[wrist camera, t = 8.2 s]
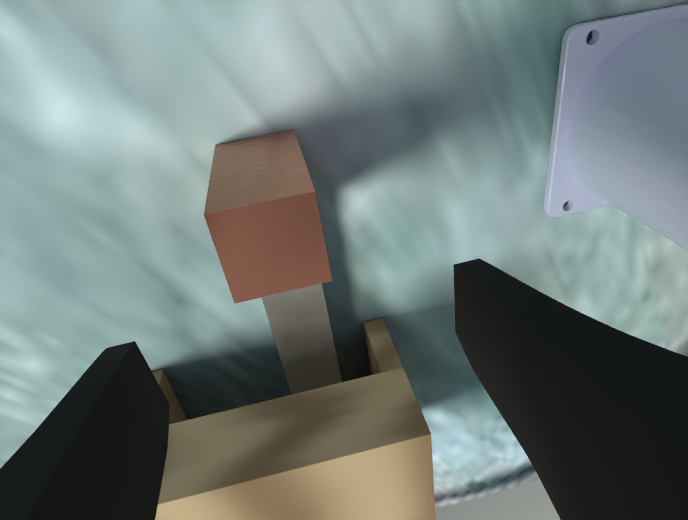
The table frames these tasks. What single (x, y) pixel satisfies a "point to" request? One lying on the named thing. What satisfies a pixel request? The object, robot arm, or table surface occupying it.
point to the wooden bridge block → (306, 452)
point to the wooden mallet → (275, 249)
